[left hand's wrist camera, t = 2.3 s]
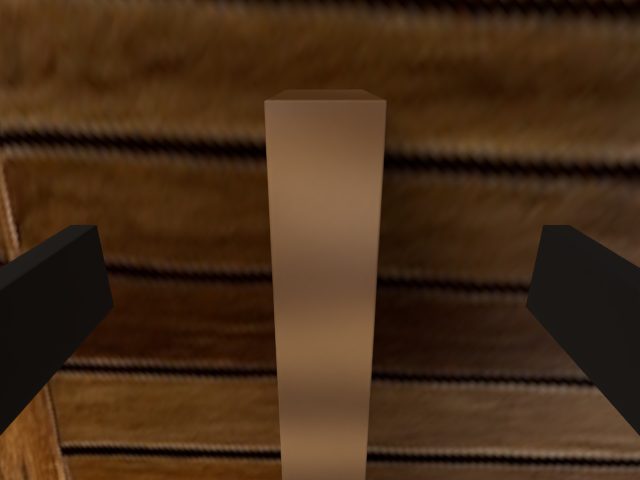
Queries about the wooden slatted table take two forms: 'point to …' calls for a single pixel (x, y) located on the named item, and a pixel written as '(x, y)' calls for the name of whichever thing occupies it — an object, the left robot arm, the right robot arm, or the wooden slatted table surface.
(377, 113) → the bar
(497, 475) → the wooden slatted table surface
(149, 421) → the wooden slatted table surface
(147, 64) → the wooden slatted table surface
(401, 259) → the wooden slatted table surface
